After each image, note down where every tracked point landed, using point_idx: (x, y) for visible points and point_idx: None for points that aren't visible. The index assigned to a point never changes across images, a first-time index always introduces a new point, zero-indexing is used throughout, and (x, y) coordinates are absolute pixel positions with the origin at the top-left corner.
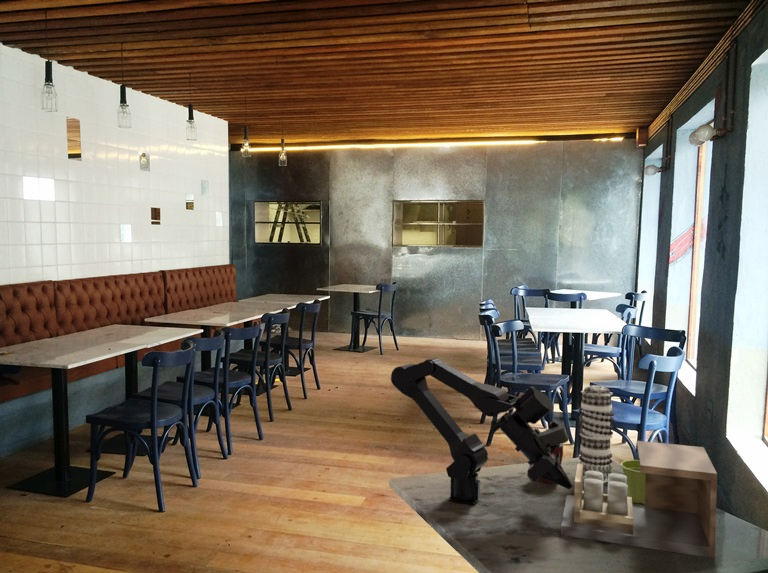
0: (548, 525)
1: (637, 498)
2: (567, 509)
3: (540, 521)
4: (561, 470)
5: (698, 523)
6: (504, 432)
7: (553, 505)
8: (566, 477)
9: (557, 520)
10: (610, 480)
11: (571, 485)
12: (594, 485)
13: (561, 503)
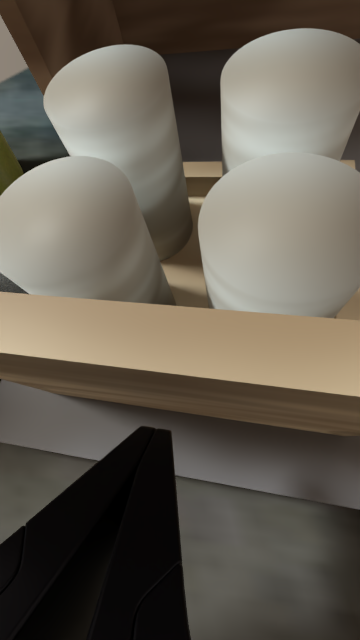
0: (304, 574)
1: (7, 183)
2: (176, 455)
3: (262, 623)
4: (116, 627)
5: (201, 55)
6: None
7: (36, 511)
8: (141, 497)
9: (221, 510)
10: (143, 137)
11: (170, 435)
12: None
13: (12, 465)
